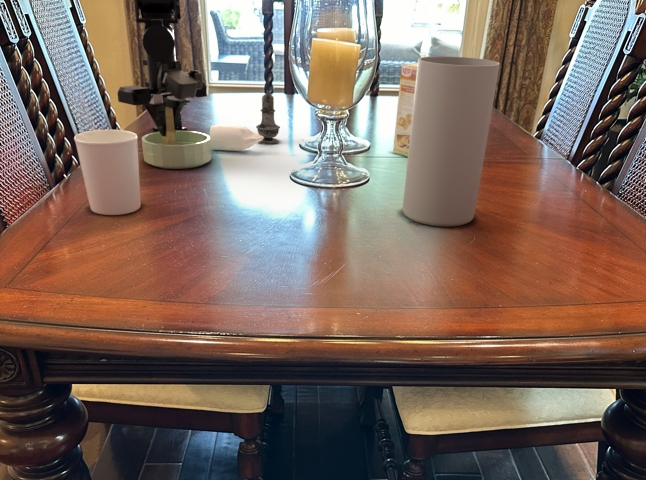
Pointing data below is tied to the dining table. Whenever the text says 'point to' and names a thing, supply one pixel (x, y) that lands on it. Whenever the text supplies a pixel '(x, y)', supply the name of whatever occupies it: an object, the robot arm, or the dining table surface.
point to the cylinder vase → (448, 138)
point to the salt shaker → (268, 121)
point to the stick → (169, 128)
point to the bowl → (177, 150)
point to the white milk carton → (232, 138)
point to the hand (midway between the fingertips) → (168, 135)
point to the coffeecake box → (405, 109)
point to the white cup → (110, 170)
